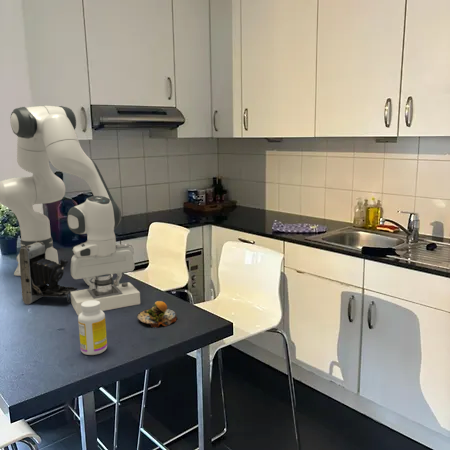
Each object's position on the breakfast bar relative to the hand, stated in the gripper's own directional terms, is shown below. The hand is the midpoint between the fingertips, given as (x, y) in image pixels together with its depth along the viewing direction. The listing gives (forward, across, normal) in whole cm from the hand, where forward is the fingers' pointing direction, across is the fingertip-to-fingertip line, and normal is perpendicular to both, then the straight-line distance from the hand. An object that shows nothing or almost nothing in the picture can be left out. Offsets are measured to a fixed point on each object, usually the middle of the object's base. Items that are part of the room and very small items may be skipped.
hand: (104, 287), depth 149 cm
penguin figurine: (+6, -2, -23) cm, 24 cm away
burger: (+6, -10, +21) cm, 24 cm away
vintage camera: (+6, +16, -12) cm, 20 cm away
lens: (+6, 0, 0) cm, 6 cm away
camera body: (+6, 0, 0) cm, 6 cm away
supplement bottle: (+6, +10, +32) cm, 34 cm away
